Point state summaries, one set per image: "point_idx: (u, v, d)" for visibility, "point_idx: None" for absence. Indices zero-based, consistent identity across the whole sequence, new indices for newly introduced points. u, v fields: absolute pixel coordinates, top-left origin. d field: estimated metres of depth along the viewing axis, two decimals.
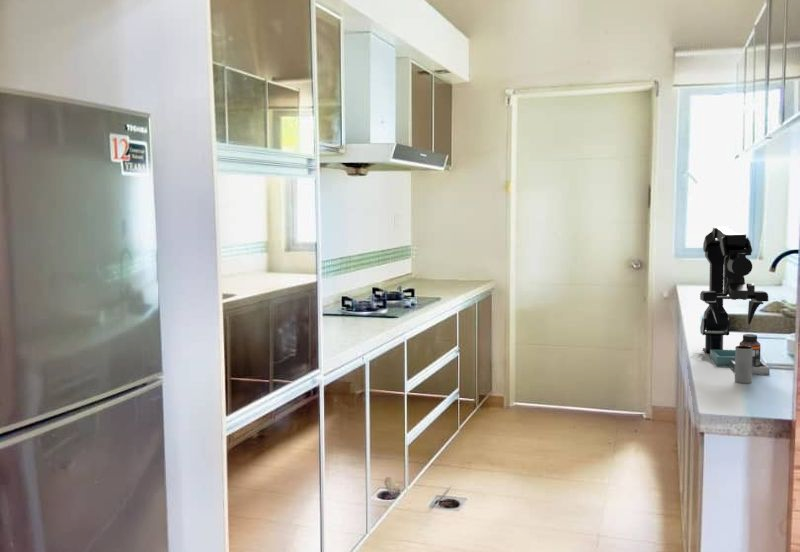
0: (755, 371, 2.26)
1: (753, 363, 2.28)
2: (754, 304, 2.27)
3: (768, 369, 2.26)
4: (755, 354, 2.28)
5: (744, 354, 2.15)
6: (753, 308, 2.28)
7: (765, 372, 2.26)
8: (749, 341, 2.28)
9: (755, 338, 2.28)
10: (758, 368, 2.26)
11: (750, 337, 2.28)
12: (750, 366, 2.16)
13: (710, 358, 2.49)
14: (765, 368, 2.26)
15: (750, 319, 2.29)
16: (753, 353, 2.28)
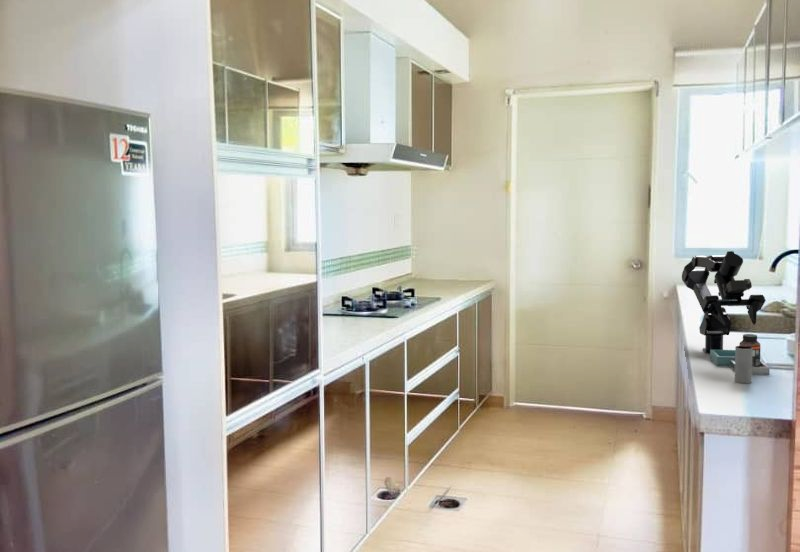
0: (755, 371, 2.26)
1: (753, 363, 2.28)
2: (754, 303, 2.39)
3: (768, 369, 2.26)
4: (755, 354, 2.28)
5: (744, 354, 2.15)
6: (754, 308, 2.39)
7: (765, 372, 2.26)
8: (749, 341, 2.28)
9: (755, 338, 2.28)
10: (758, 368, 2.26)
11: (750, 337, 2.28)
12: (750, 366, 2.16)
13: (710, 358, 2.49)
14: (765, 368, 2.26)
15: (754, 318, 2.37)
16: (753, 353, 2.28)
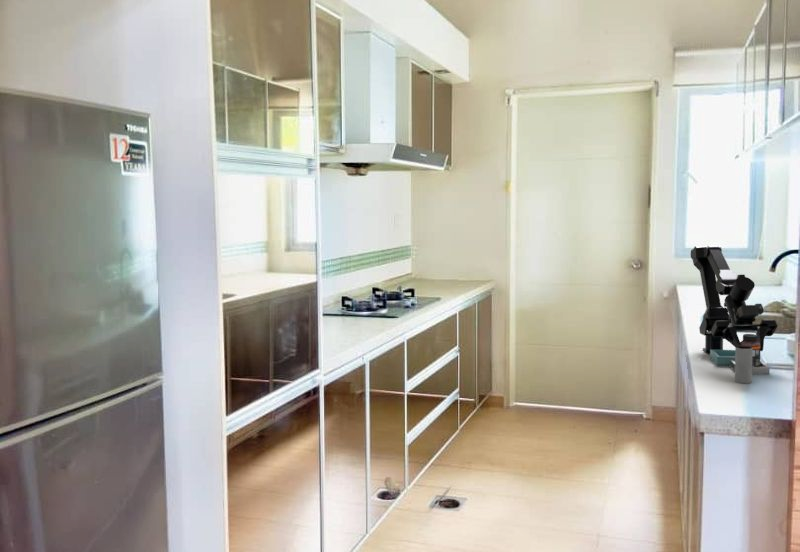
0: (755, 371, 2.26)
1: (753, 363, 2.28)
2: (761, 328, 2.31)
3: (768, 369, 2.26)
4: (755, 354, 2.28)
5: (744, 354, 2.15)
6: (761, 334, 2.31)
7: (765, 372, 2.26)
8: (749, 341, 2.28)
9: (755, 338, 2.28)
10: (758, 368, 2.26)
11: (750, 337, 2.28)
12: (750, 366, 2.16)
13: (710, 358, 2.49)
14: (765, 368, 2.26)
15: (762, 345, 2.29)
16: (753, 353, 2.27)
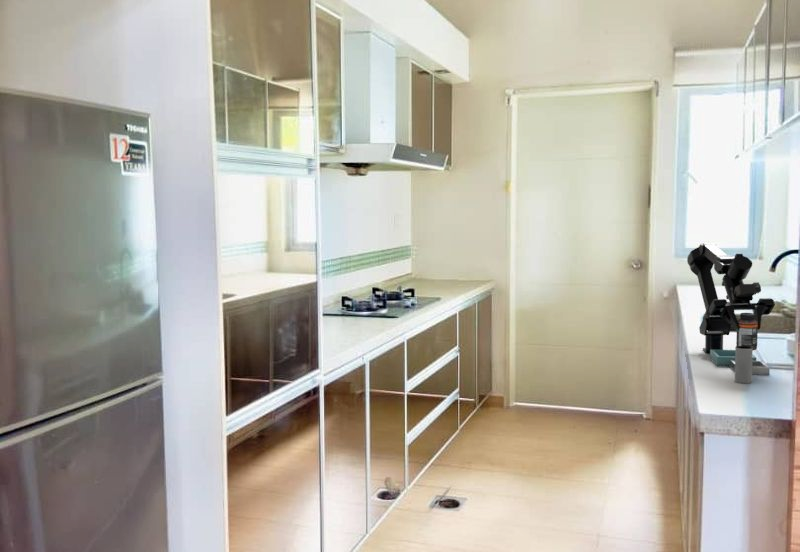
0: (755, 371, 2.26)
1: (750, 341, 2.29)
2: (758, 307, 2.32)
3: (768, 369, 2.26)
4: (752, 332, 2.29)
5: (744, 354, 2.15)
6: (758, 313, 2.32)
7: (765, 372, 2.26)
8: (746, 320, 2.30)
9: (752, 317, 2.30)
10: (758, 368, 2.26)
11: (747, 316, 2.30)
12: (750, 366, 2.16)
13: (710, 358, 2.49)
14: (765, 368, 2.26)
15: (759, 323, 2.31)
16: (750, 331, 2.29)
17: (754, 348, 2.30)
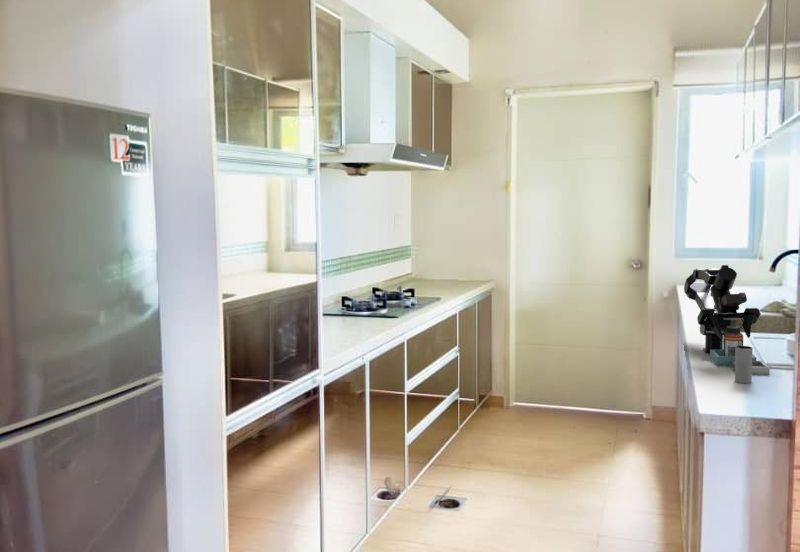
0: (755, 371, 2.26)
1: None
2: (748, 316, 2.42)
3: (768, 369, 2.26)
4: (738, 344, 2.39)
5: (744, 354, 2.15)
6: (748, 321, 2.42)
7: (765, 372, 2.26)
8: (732, 332, 2.40)
9: (738, 329, 2.40)
10: (758, 368, 2.26)
11: (733, 328, 2.39)
12: (750, 366, 2.16)
13: (710, 358, 2.49)
14: (765, 368, 2.26)
15: (749, 332, 2.40)
16: (736, 344, 2.39)
17: None
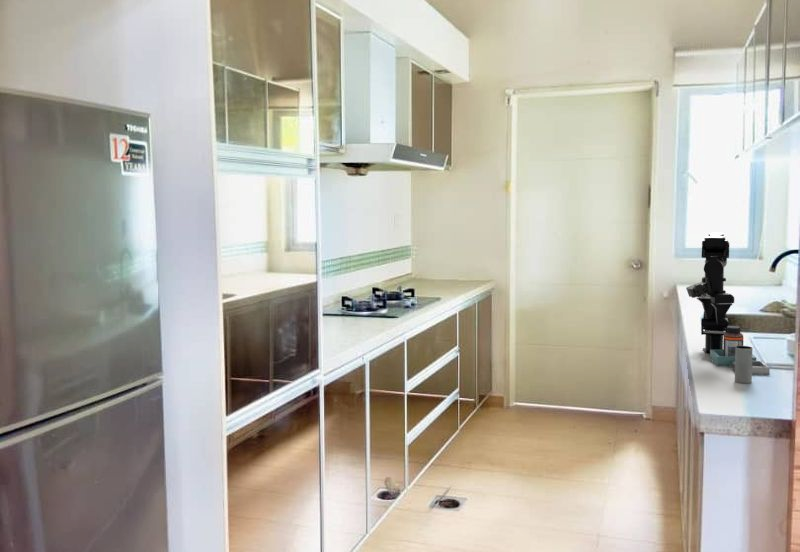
0: (755, 371, 2.26)
1: None
2: (712, 305, 2.40)
3: (768, 369, 2.26)
4: (738, 345, 2.39)
5: (744, 354, 2.15)
6: (715, 309, 2.40)
7: (765, 372, 2.26)
8: (732, 332, 2.40)
9: (738, 330, 2.40)
10: (758, 368, 2.26)
11: (733, 329, 2.39)
12: (750, 366, 2.16)
13: (710, 358, 2.49)
14: (765, 368, 2.26)
15: (716, 319, 2.41)
16: (736, 344, 2.39)
17: None
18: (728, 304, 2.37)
